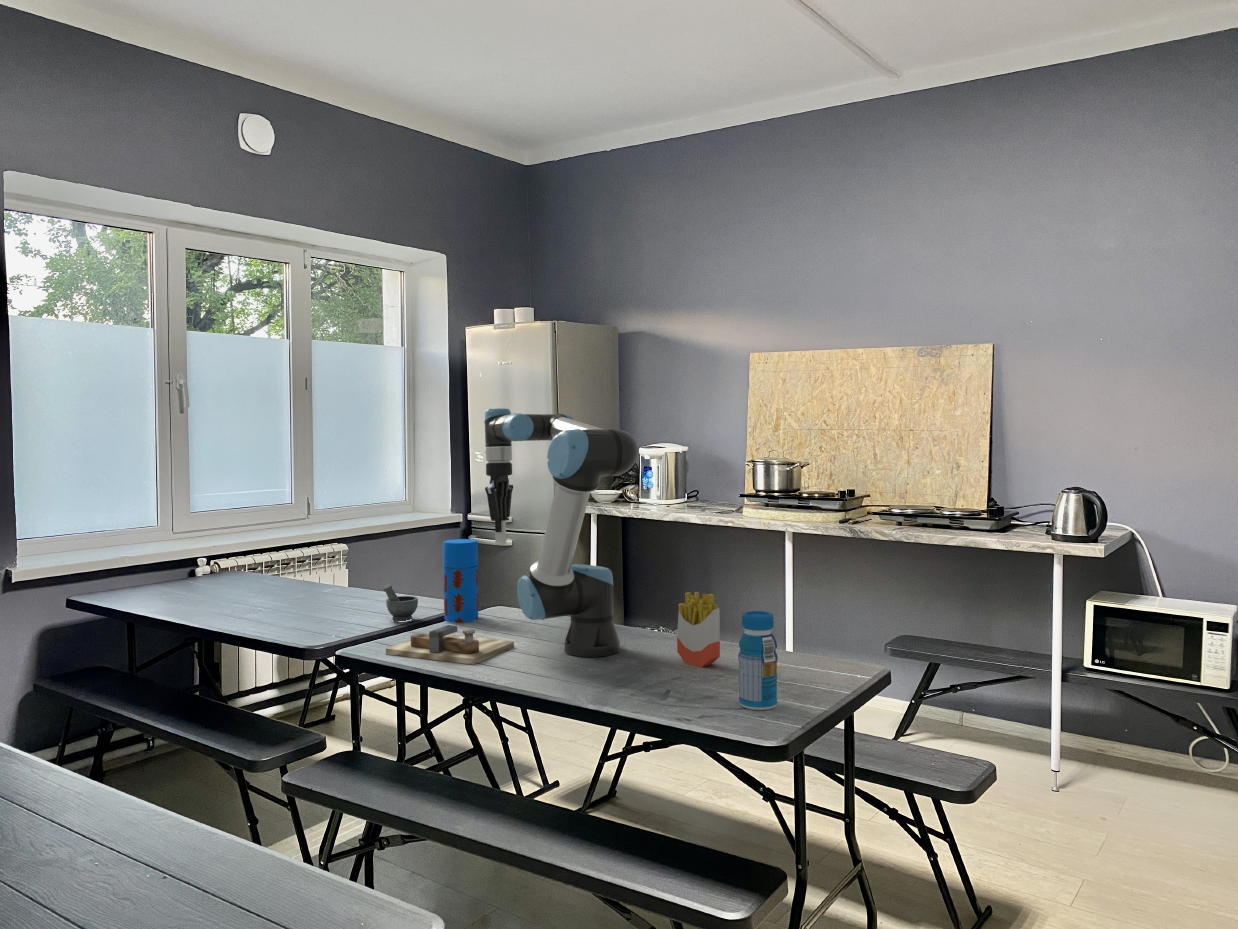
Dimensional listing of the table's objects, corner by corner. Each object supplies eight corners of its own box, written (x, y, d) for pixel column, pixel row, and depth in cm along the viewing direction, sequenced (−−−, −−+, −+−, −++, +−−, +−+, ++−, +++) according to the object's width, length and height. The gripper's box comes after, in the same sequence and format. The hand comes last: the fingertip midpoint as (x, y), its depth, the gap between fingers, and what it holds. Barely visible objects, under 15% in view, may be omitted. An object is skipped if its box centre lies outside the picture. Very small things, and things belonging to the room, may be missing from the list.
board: (513, 646, 244) (513, 641, 244) (473, 664, 226) (473, 658, 226) (430, 637, 255) (430, 632, 255) (385, 654, 237) (385, 648, 237)
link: (482, 650, 234) (482, 628, 234) (471, 654, 229) (470, 632, 229) (418, 642, 243) (418, 621, 243) (406, 646, 239) (405, 625, 239)
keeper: (457, 646, 239) (457, 626, 239) (438, 653, 231) (438, 632, 231) (448, 645, 240) (448, 625, 240) (429, 652, 233) (429, 631, 232)
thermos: (475, 622, 275) (473, 543, 274) (441, 623, 275) (439, 543, 274) (481, 615, 285) (480, 538, 284) (448, 615, 286) (447, 539, 285)
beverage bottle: (737, 710, 187) (737, 617, 186) (738, 698, 195) (738, 609, 195) (778, 712, 186) (778, 618, 185) (777, 700, 194) (777, 610, 193)
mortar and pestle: (408, 615, 286) (408, 579, 286) (423, 620, 279) (423, 582, 279) (377, 621, 278) (376, 583, 278) (391, 625, 272) (390, 587, 271)
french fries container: (708, 669, 219) (707, 597, 218) (676, 661, 227) (675, 592, 226) (720, 666, 222) (719, 595, 221) (688, 658, 230) (687, 590, 229)
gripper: (498, 461, 262) (500, 540, 262) (476, 462, 250) (478, 545, 250) (520, 461, 259) (522, 541, 260) (499, 462, 247) (501, 546, 247)
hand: (500, 543), depth 255 cm, fingers closed
